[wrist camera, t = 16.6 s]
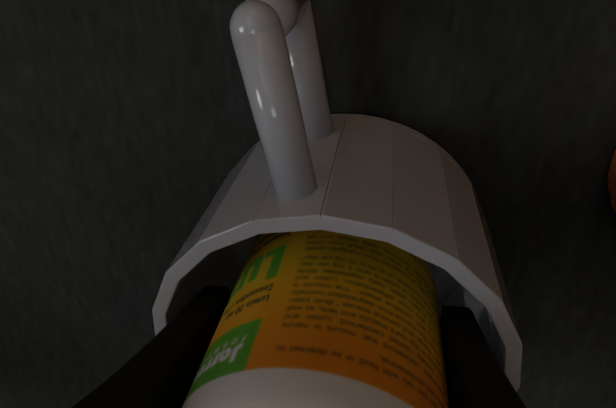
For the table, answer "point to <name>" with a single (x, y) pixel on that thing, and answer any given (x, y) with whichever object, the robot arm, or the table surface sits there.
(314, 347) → the supplement bottle
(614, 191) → the copper cup
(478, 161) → the table surface
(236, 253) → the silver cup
